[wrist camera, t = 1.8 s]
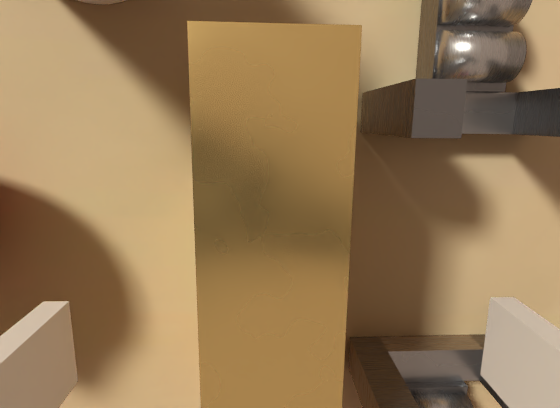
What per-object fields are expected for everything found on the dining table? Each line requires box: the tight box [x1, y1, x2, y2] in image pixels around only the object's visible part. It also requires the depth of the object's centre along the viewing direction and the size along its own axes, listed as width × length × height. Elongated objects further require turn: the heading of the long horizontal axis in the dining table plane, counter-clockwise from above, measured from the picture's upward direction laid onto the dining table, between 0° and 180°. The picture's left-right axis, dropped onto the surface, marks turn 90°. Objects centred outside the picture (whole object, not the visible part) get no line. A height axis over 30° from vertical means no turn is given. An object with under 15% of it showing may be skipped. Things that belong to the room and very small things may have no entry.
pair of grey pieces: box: [348, 0, 560, 408], centre depth 19 cm, size 9×26×7 cm, turn 0°
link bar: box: [187, 21, 362, 408], centre depth 17 cm, size 4×18×10 cm, turn 179°
